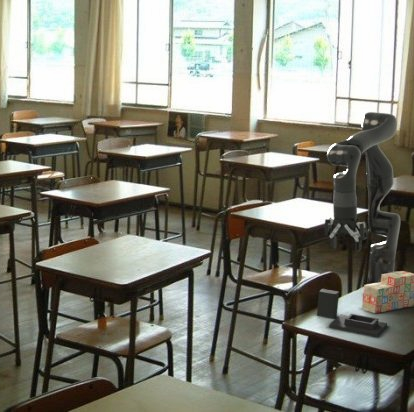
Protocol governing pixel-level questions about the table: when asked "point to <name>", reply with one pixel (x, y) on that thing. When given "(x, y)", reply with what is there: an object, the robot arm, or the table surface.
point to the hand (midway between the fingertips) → (345, 249)
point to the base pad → (359, 324)
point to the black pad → (327, 303)
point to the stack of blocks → (389, 292)
